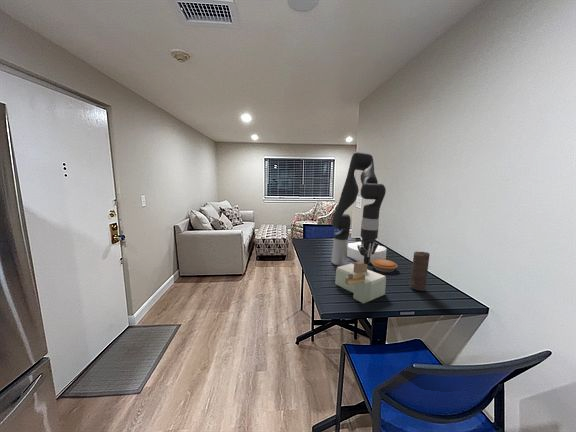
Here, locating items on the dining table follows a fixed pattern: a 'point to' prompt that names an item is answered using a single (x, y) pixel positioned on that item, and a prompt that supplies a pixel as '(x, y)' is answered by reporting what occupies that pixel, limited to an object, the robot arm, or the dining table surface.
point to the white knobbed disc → (356, 255)
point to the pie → (384, 265)
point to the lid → (361, 271)
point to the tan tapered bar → (354, 278)
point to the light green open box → (361, 288)
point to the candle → (419, 270)
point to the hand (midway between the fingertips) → (366, 263)
